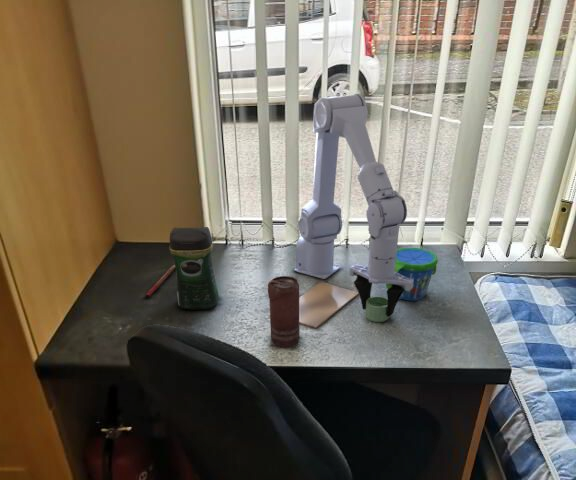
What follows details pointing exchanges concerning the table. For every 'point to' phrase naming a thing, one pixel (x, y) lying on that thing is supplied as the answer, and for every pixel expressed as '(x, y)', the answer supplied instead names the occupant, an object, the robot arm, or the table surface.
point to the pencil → (160, 281)
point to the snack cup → (415, 270)
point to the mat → (322, 303)
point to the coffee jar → (194, 267)
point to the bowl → (376, 308)
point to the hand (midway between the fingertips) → (377, 310)
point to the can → (284, 311)
